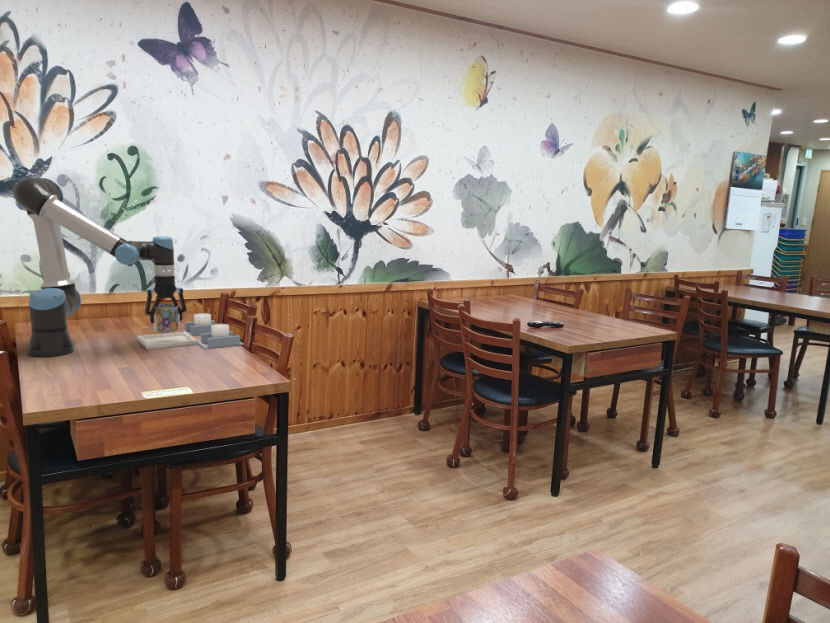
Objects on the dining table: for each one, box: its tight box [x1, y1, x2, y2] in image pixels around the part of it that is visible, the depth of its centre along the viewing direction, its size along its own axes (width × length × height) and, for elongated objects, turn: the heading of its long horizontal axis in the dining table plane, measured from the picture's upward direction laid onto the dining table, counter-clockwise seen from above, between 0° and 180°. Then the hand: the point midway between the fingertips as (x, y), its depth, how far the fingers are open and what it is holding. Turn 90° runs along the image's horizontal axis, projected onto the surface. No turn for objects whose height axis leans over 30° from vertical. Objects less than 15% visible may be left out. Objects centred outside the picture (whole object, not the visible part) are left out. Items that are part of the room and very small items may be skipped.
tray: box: [137, 331, 197, 351], centre depth 251 cm, size 19×17×2 cm
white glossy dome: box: [193, 312, 212, 326], centre depth 272 cm, size 7×7×8 cm
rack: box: [180, 319, 244, 350], centre depth 263 cm, size 16×35×4 cm, turn 35°
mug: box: [155, 303, 180, 334], centre depth 250 cm, size 12×9×11 cm
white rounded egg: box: [211, 323, 230, 338], centre depth 252 cm, size 7×7×8 cm
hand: (166, 329), depth 251 cm, fingers closed on mug, 8 cm apart
